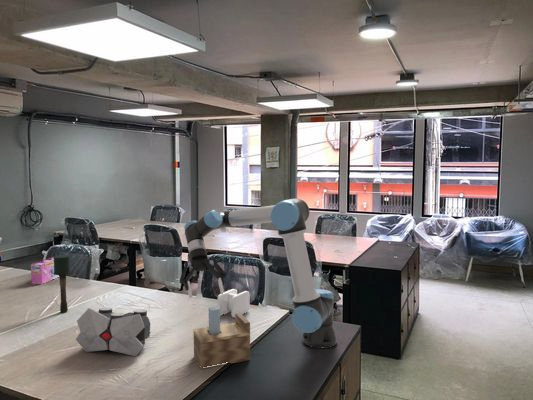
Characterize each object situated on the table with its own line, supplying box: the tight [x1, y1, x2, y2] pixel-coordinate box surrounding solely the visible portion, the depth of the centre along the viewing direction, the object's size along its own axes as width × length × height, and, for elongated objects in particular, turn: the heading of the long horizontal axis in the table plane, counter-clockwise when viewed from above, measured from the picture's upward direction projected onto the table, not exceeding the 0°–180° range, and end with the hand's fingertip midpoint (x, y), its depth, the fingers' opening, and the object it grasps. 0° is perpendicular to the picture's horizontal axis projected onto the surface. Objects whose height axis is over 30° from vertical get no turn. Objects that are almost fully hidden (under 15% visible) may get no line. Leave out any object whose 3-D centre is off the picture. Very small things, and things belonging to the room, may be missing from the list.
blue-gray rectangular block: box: [208, 306, 221, 335], centre depth 168 cm, size 4×4×16 cm
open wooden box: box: [193, 333, 251, 369], centre depth 170 cm, size 20×12×10 cm, turn 113°
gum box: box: [30, 256, 59, 285], centre depth 287 cm, size 24×8×14 cm, turn 170°
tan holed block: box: [193, 313, 251, 343], centre depth 170 cm, size 20×12×5 cm, turn 113°
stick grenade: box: [53, 254, 72, 314], centre depth 223 cm, size 8×9×30 cm
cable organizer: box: [217, 288, 251, 318], centre depth 221 cm, size 15×11×12 cm
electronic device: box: [75, 307, 151, 357], centre depth 179 cm, size 18×21×30 cm
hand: (206, 294), depth 176 cm, fingers open, 13 cm apart
